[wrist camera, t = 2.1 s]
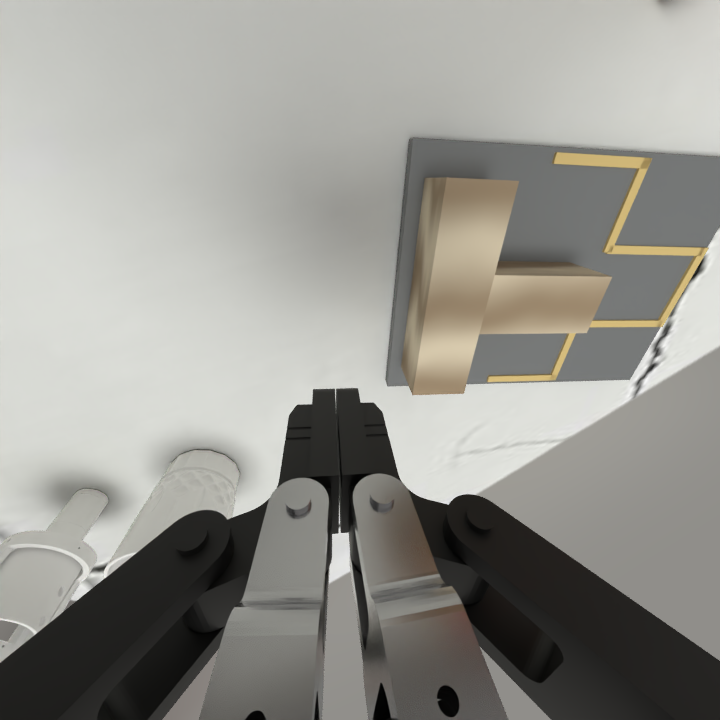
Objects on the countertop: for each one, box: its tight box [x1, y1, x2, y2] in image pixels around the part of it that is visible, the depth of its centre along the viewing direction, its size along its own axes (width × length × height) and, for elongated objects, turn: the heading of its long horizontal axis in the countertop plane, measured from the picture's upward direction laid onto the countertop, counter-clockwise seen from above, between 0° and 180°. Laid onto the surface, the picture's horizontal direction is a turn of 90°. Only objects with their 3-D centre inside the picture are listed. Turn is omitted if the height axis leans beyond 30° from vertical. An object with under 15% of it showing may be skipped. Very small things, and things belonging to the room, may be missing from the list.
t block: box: [401, 177, 612, 395], centre depth 22 cm, size 14×12×4 cm
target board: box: [386, 138, 720, 386], centre depth 24 cm, size 18×24×1 cm
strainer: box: [0, 489, 108, 662], centre depth 25 cm, size 7×7×15 cm
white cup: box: [103, 450, 240, 579], centre depth 27 cm, size 8×8×10 cm
